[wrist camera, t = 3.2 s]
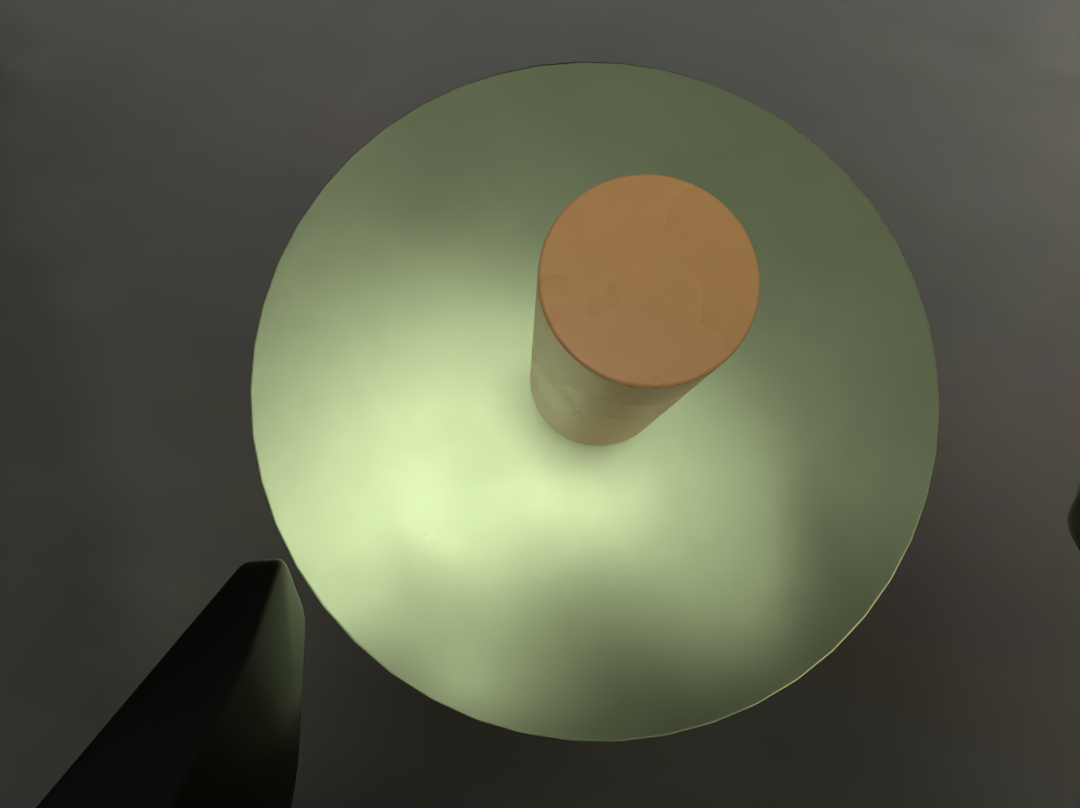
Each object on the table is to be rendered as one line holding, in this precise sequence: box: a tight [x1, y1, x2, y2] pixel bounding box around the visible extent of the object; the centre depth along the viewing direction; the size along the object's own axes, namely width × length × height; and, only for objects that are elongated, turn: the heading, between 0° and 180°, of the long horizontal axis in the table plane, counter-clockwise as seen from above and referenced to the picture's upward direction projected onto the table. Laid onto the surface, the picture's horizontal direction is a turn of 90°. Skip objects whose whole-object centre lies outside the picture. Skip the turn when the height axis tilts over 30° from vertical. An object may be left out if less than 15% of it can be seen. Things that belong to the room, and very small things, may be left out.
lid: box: [249, 62, 939, 742], centre depth 13 cm, size 13×13×7 cm
